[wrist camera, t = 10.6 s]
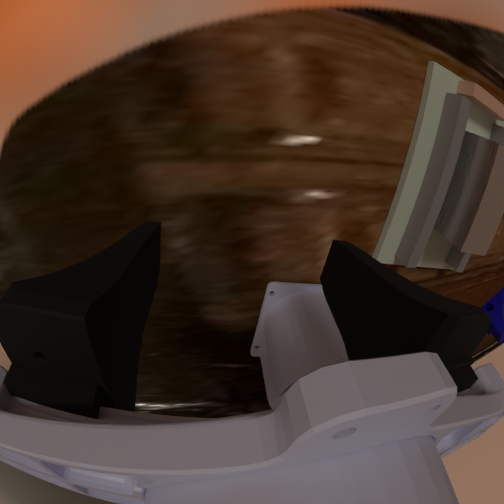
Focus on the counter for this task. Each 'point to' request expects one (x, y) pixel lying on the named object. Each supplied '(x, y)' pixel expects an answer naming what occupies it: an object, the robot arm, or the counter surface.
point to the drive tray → (435, 170)
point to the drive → (474, 196)
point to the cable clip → (496, 315)
